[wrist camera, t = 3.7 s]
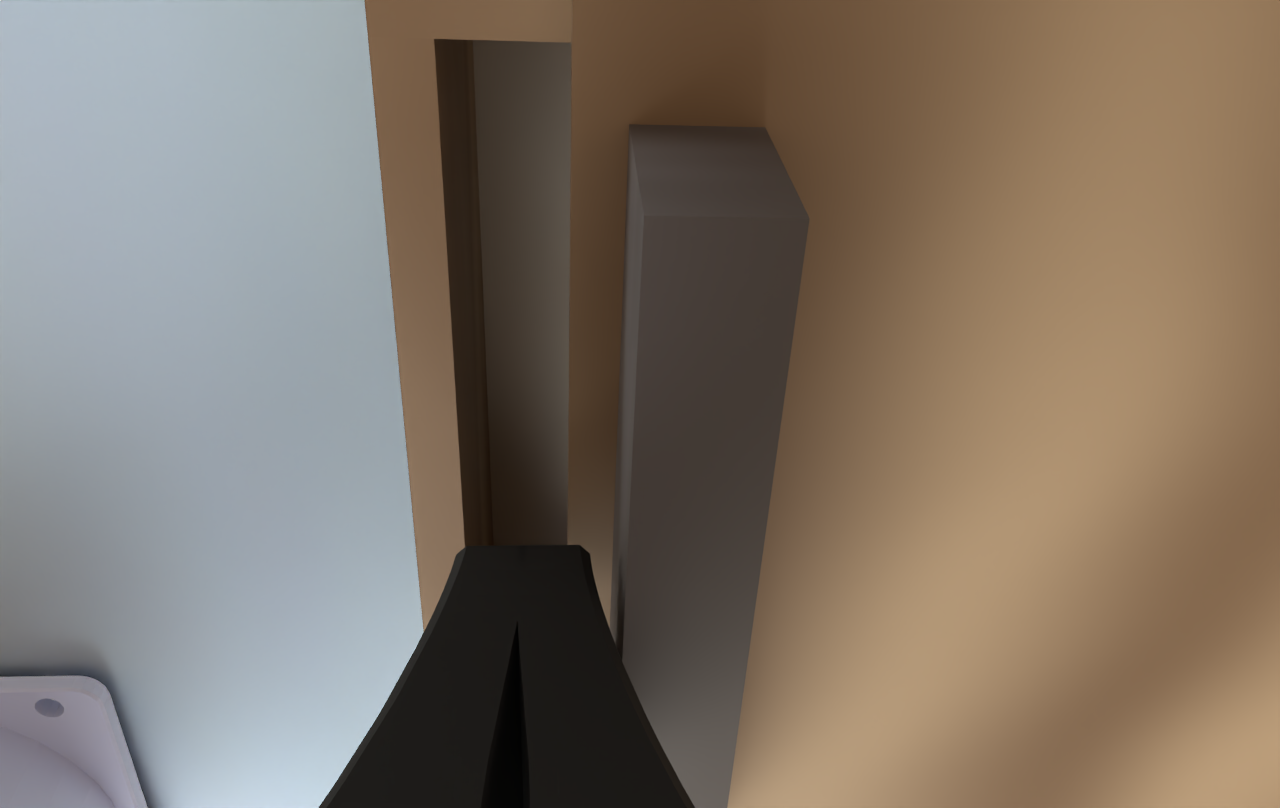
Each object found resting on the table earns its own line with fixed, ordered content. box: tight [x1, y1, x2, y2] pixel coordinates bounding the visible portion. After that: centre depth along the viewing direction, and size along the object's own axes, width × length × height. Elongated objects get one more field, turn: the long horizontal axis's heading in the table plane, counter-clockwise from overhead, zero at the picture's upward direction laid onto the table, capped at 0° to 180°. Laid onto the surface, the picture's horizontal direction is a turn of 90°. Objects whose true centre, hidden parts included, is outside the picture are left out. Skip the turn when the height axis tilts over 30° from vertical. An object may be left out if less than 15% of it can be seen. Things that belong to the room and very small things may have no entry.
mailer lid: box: [567, 0, 1280, 808], centre depth 12 cm, size 15×13×3 cm
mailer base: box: [365, 0, 572, 631], centre depth 15 cm, size 14×12×5 cm
